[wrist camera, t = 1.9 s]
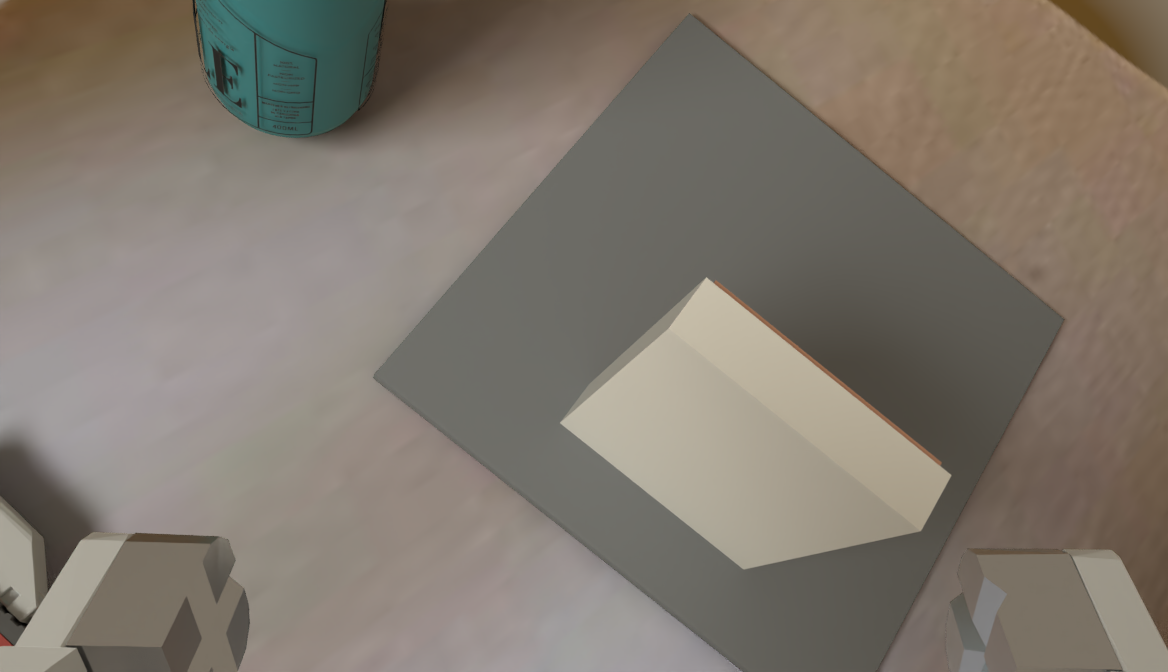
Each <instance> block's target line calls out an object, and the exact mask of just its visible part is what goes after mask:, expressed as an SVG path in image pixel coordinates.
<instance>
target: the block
mask: <svg viewBox="0 0 1168 672" xmlns="http://www.w3.org/2000/svg"><path fill="white" fill-rule="evenodd" d="M560 424H562V425H563V426H564V427H565V428H567V429H568V430H569V431H570V432H572V433H573V434H574V435H575V436H577V437H578V438H579V439H581V440H582V441H583V442H584V443H586V444H587V445H588V446H589V447H591V448H592V449H593V450H594V451H596V452H597V453H598V454H599V455H601V456H602V457H603V458H604V459H606V460H607V461H608V462H609V463H611V464H612V465H613V466H614V467H616V468H617V469H618V470H619V471H621V472H622V473H623V474H624V475H626V476H627V477H628V478H629V479H631V480H632V481H633V482H634V483H636V484H637V485H638V486H639V487H641V488H642V489H643V490H644V491H646V492H647V493H648V494H649V495H651V496H652V497H653V498H654V499H656V500H657V501H658V502H660V503H661V504H662V505H663V506H665V507H666V508H667V509H668V510H670V511H671V512H672V513H673V514H675V515H676V516H677V517H678V518H680V519H681V520H682V521H683V522H685V523H686V524H687V525H688V526H690V527H691V528H692V529H693V530H695V531H696V532H697V533H698V534H700V535H701V536H702V537H703V538H705V539H706V540H707V541H708V542H710V543H711V544H712V545H713V546H715V547H716V548H717V549H718V550H720V551H721V552H722V553H723V554H725V555H726V556H727V557H728V558H730V559H731V560H732V561H733V562H735V563H736V564H737V565H739V566H740V567H741V568H742V569H749V568H753V567H758V566H762V565H767V564H772V563H776V562H781V561H786V560H790V559H795V558H799V557H804V556H809V555H813V554H818V553H823V552H827V551H832V550H836V549H841V548H846V547H850V546H855V545H860V544H864V543H869V542H873V541H878V540H883V539H887V538H892V537H897V536H901V535H906V534H910V533H915V532H920V531H921V530H922V528H923V527H924V525H925V523H926V521H927V519H928V517H929V516H930V514H931V512H932V510H933V508H934V506H935V505H936V503H937V501H938V499H939V497H940V496H941V494H942V492H943V490H944V488H945V486H946V485H947V483H948V481H949V479H950V477H951V474H949V473H948V472H947V471H946V470H944V469H943V468H942V467H941V466H940V465H941V463H942V462H941V461H939V460H938V459H937V458H936V457H934V456H933V455H932V454H931V453H929V452H928V451H927V450H926V449H925V448H923V447H922V446H921V445H920V444H918V443H917V442H916V441H915V440H913V439H912V438H911V437H910V436H908V435H907V434H906V433H905V432H903V431H902V430H901V429H900V428H899V427H897V426H896V425H895V424H894V423H892V422H891V421H890V420H889V419H887V418H886V417H885V416H884V415H882V414H881V413H880V412H879V411H877V410H876V409H875V408H874V407H873V406H871V405H870V404H869V403H868V402H866V401H865V400H864V399H863V398H861V397H860V396H859V395H858V394H856V393H855V392H854V391H853V390H851V389H850V388H849V387H848V386H847V385H845V384H844V383H843V382H842V381H840V380H839V379H838V378H837V377H835V376H834V375H833V374H832V373H830V372H829V371H828V370H827V369H825V368H824V367H823V366H822V365H821V364H819V363H818V362H817V361H816V360H814V359H813V358H812V357H811V356H809V355H808V354H807V353H806V352H804V351H803V350H802V349H801V348H799V347H798V346H797V345H796V344H795V343H793V342H792V341H791V340H790V339H788V338H787V337H786V336H785V335H783V334H782V333H781V332H780V331H778V330H777V329H776V328H775V327H773V326H772V325H771V324H770V323H769V322H767V321H766V320H765V319H764V318H762V317H761V316H760V315H759V314H757V313H756V312H755V311H754V310H752V309H751V308H750V307H749V306H747V305H746V304H745V303H744V302H743V301H741V300H740V299H739V298H738V297H736V296H735V295H734V294H733V293H731V292H730V291H729V290H728V289H726V288H725V287H724V286H723V285H721V284H720V283H719V282H718V281H717V280H716V281H714V282H712V281H710V280H709V279H708V278H707V277H706V278H705V279H704V280H703V281H702V282H701V283H700V284H698V285H697V286H696V287H695V288H694V289H693V290H692V291H691V292H690V293H689V294H687V295H686V296H685V297H684V298H683V299H682V300H681V301H680V302H679V303H678V304H676V305H675V306H674V307H673V308H672V309H671V310H670V311H669V312H668V313H667V314H666V315H664V316H663V317H662V318H661V319H660V320H659V321H658V322H657V323H656V324H655V325H653V326H652V327H651V328H650V329H649V330H648V331H647V332H646V333H645V334H644V335H642V336H641V337H640V338H639V339H638V340H637V341H636V342H635V343H634V344H633V345H631V346H630V347H629V348H628V349H627V350H626V351H625V352H624V353H623V354H622V355H621V356H619V357H618V358H617V359H616V360H615V361H614V362H613V363H612V364H611V365H610V366H608V367H607V368H606V369H605V370H604V371H603V372H602V373H601V374H600V375H599V376H597V377H596V378H595V379H594V380H593V381H592V382H591V383H590V384H589V385H588V386H587V388H586V389H585V390H584V392H583V393H582V394H581V396H580V397H579V398H578V400H577V401H576V402H575V404H574V405H573V406H572V407H571V409H570V410H569V411H568V413H567V414H566V415H565V417H564V418H563V419H562V421H561V422H560Z"/></svg>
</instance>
